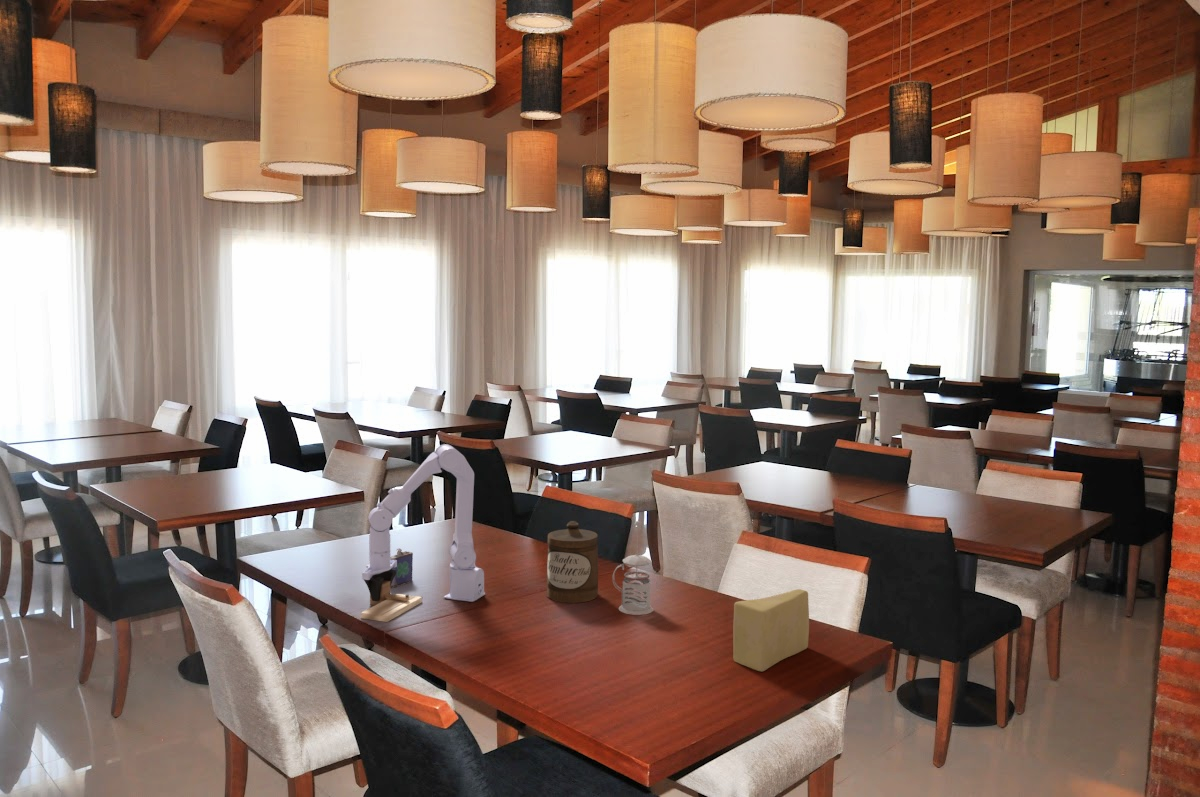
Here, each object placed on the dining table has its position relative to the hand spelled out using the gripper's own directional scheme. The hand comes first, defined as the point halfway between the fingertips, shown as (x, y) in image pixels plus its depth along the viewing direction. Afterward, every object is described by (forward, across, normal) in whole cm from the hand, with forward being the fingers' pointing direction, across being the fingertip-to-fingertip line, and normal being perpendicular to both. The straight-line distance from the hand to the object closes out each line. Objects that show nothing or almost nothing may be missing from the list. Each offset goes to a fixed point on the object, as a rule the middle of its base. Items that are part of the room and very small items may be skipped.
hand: (380, 598), depth 260 cm
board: (+1, +4, +6) cm, 7 cm away
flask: (+2, -18, -5) cm, 19 cm away
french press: (+2, -22, +67) cm, 71 cm away
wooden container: (+2, -27, +47) cm, 55 cm away
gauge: (+1, 0, +4) cm, 4 cm away
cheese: (+2, -1, +110) cm, 111 cm away
